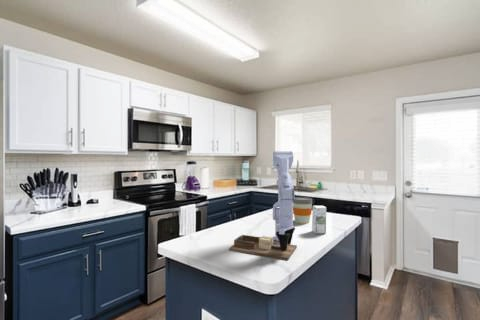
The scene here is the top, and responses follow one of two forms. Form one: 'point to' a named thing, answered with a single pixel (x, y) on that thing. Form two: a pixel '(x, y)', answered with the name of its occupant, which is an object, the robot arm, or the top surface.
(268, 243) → the cream block with stem
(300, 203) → the reusable coffee cup
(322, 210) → the syrup box
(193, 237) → the top surface
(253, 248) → the walnut lane shelf
